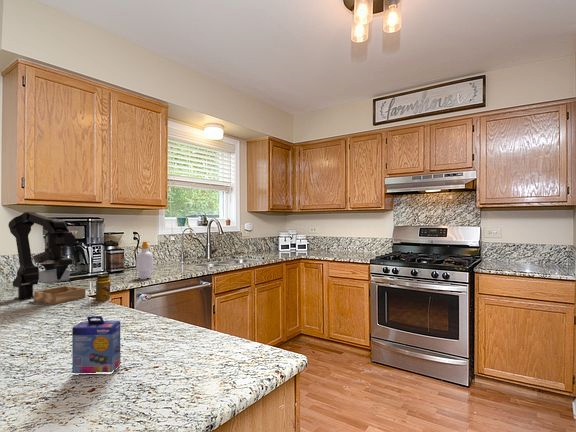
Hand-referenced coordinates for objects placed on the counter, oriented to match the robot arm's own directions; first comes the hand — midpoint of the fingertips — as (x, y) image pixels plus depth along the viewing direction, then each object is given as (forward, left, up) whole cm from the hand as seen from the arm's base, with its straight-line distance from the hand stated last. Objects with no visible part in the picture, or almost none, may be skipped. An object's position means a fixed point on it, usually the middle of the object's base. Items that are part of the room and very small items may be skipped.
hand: (54, 278), depth 159 cm
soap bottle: (-10, +64, -11) cm, 66 cm away
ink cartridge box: (+86, -42, -11) cm, 96 cm away
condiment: (+18, +11, -11) cm, 23 cm away
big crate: (-2, +4, -11) cm, 12 cm away
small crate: (0, 0, -1) cm, 1 cm away
